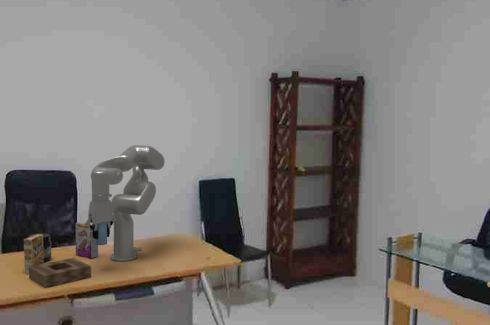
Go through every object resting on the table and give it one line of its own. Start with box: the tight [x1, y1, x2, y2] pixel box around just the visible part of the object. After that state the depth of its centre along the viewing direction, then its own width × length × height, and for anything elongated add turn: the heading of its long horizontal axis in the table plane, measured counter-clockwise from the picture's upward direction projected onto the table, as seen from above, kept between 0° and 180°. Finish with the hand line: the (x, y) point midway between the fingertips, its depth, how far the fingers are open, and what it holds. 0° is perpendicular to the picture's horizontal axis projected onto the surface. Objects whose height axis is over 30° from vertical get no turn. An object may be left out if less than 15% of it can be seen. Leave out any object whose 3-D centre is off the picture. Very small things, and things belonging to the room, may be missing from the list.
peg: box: [96, 222, 108, 246], centre depth 221 cm, size 5×5×10 cm
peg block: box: [28, 257, 92, 289], centre depth 210 cm, size 20×16×5 cm
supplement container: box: [28, 233, 52, 263], centre depth 234 cm, size 10×10×12 cm
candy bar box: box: [74, 221, 99, 259], centre depth 242 cm, size 11×5×16 cm, turn 59°
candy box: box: [23, 233, 45, 274], centre depth 219 cm, size 9×4×15 cm, turn 171°
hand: (101, 237), depth 221 cm, fingers closed on peg, 5 cm apart
